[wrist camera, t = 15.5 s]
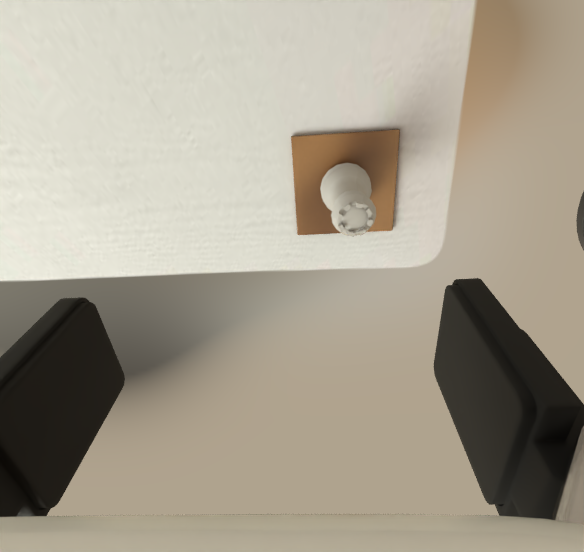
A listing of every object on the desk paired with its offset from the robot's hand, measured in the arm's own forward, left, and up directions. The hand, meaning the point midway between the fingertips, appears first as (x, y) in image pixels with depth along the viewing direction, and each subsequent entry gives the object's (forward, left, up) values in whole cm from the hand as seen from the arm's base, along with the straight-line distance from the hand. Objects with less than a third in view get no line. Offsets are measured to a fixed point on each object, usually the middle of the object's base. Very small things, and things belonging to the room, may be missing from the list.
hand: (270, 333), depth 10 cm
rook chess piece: (-4, +4, -25) cm, 26 cm away
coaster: (-4, +4, -25) cm, 26 cm away
